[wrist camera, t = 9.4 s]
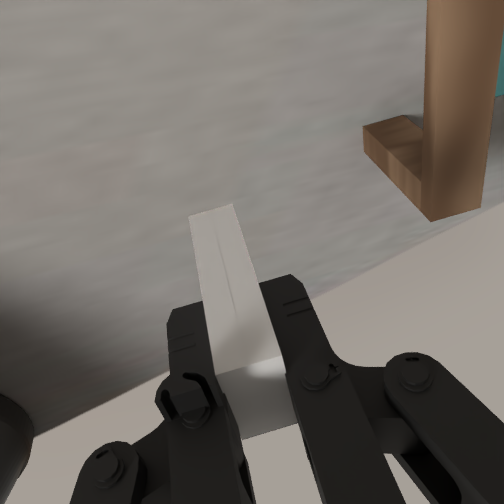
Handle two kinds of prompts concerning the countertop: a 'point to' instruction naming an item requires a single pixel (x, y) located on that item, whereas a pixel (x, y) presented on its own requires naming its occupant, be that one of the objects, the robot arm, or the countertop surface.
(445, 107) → the bridge
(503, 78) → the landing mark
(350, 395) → the robot arm
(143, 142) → the countertop surface
